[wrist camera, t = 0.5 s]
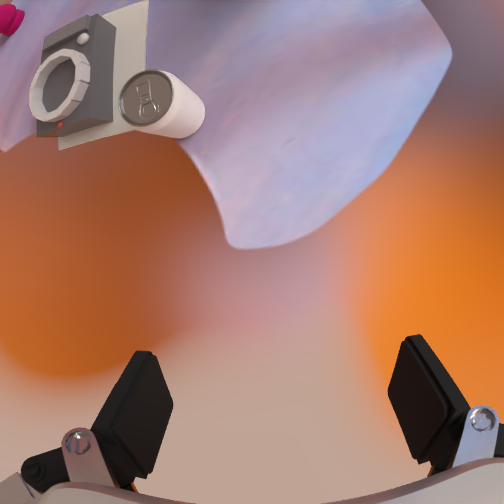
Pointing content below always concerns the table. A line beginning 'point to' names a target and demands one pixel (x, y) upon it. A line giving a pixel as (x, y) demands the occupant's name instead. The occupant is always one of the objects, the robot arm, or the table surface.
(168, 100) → the can
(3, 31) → the pepper mill
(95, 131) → the mat
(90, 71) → the camera body
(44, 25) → the table surface
